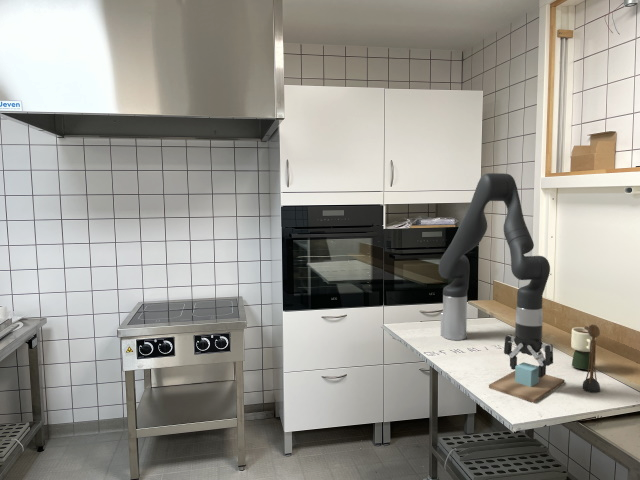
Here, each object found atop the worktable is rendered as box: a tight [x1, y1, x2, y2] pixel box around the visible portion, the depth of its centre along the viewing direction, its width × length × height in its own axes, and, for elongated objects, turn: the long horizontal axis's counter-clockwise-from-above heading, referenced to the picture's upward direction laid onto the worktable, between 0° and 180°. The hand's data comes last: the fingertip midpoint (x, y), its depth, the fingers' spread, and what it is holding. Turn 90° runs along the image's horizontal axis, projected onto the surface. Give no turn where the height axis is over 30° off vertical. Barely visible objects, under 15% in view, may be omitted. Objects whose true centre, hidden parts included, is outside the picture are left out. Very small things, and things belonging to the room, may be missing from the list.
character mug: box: [570, 326, 597, 371], centre depth 162 cm, size 11×7×13 cm, turn 174°
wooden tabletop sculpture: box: [581, 323, 601, 394], centre depth 145 cm, size 6×5×20 cm
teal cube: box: [514, 361, 539, 387], centre depth 150 cm, size 5×5×5 cm
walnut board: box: [488, 370, 566, 404], centre depth 150 cm, size 14×20×1 cm
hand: (527, 372), depth 150 cm, fingers open, 8 cm apart
